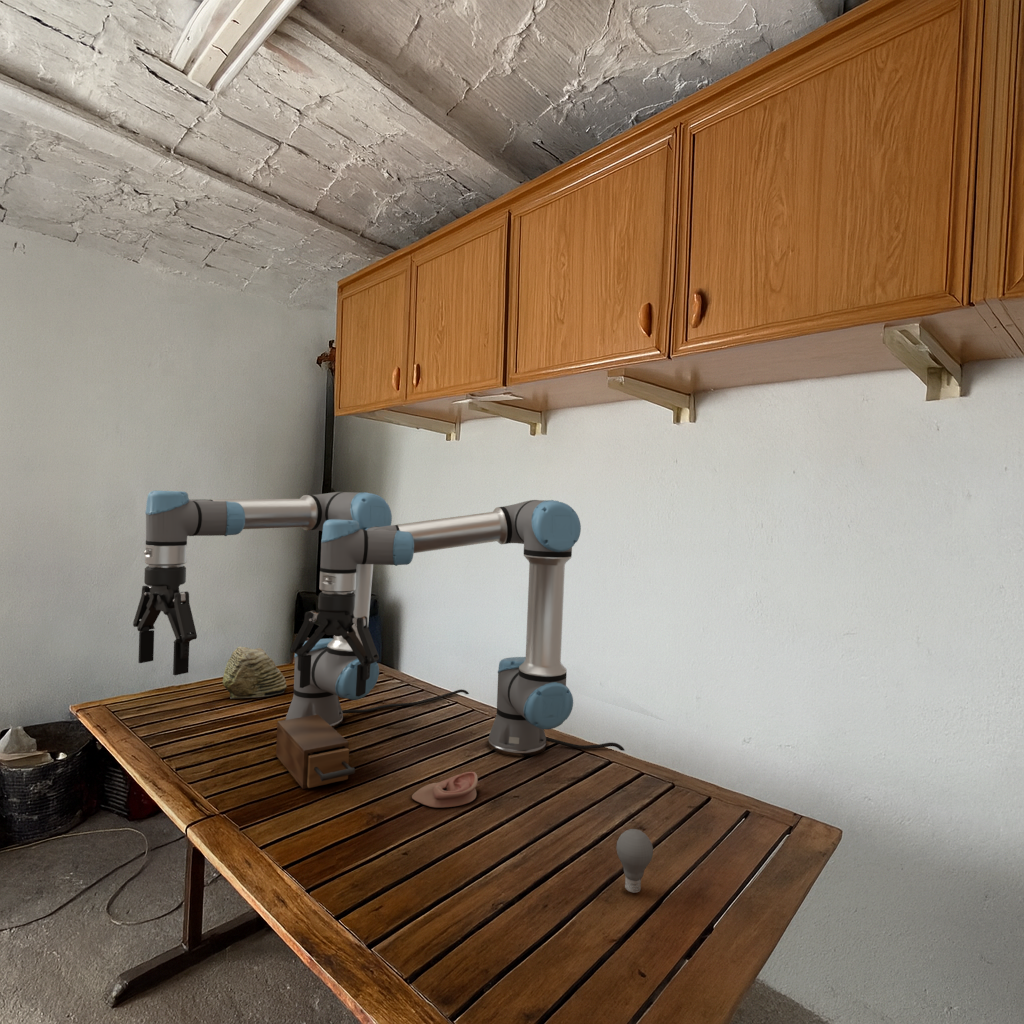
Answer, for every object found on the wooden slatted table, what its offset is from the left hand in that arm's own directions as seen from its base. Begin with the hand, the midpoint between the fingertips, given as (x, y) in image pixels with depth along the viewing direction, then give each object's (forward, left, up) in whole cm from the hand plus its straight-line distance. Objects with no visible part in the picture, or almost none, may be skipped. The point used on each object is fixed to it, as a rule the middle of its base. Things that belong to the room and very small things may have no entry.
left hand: (162, 667), depth 131 cm
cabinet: (-29, +10, -27) cm, 41 cm away
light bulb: (-38, +89, -27) cm, 101 cm away
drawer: (-28, +16, -26) cm, 41 cm away
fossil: (-47, -47, -27) cm, 72 cm away
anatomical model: (-41, +43, -27) cm, 65 cm away
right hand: (-25, +24, -5) cm, 35 cm away
